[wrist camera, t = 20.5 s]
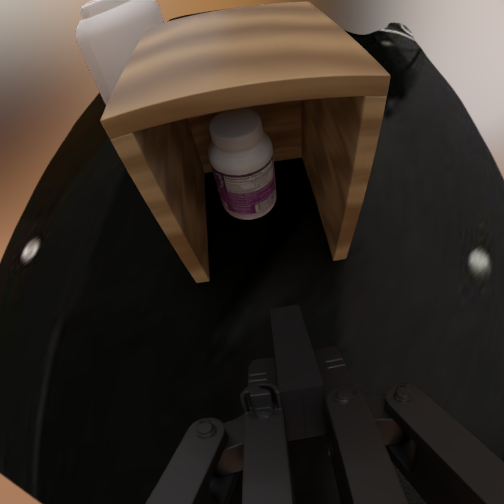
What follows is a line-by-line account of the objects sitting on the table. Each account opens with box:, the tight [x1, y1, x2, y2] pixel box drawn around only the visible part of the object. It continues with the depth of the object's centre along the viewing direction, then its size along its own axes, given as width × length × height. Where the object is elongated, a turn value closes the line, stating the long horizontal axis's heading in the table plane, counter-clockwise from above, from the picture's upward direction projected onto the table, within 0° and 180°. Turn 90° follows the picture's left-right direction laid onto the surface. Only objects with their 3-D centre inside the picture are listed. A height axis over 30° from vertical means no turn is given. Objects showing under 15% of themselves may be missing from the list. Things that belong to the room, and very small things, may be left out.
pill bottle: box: [208, 108, 277, 220], centre depth 26 cm, size 5×5×10 cm
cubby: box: [100, 2, 390, 283], centre depth 22 cm, size 14×13×17 cm
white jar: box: [76, 0, 164, 106], centre depth 35 cm, size 12×12×20 cm
